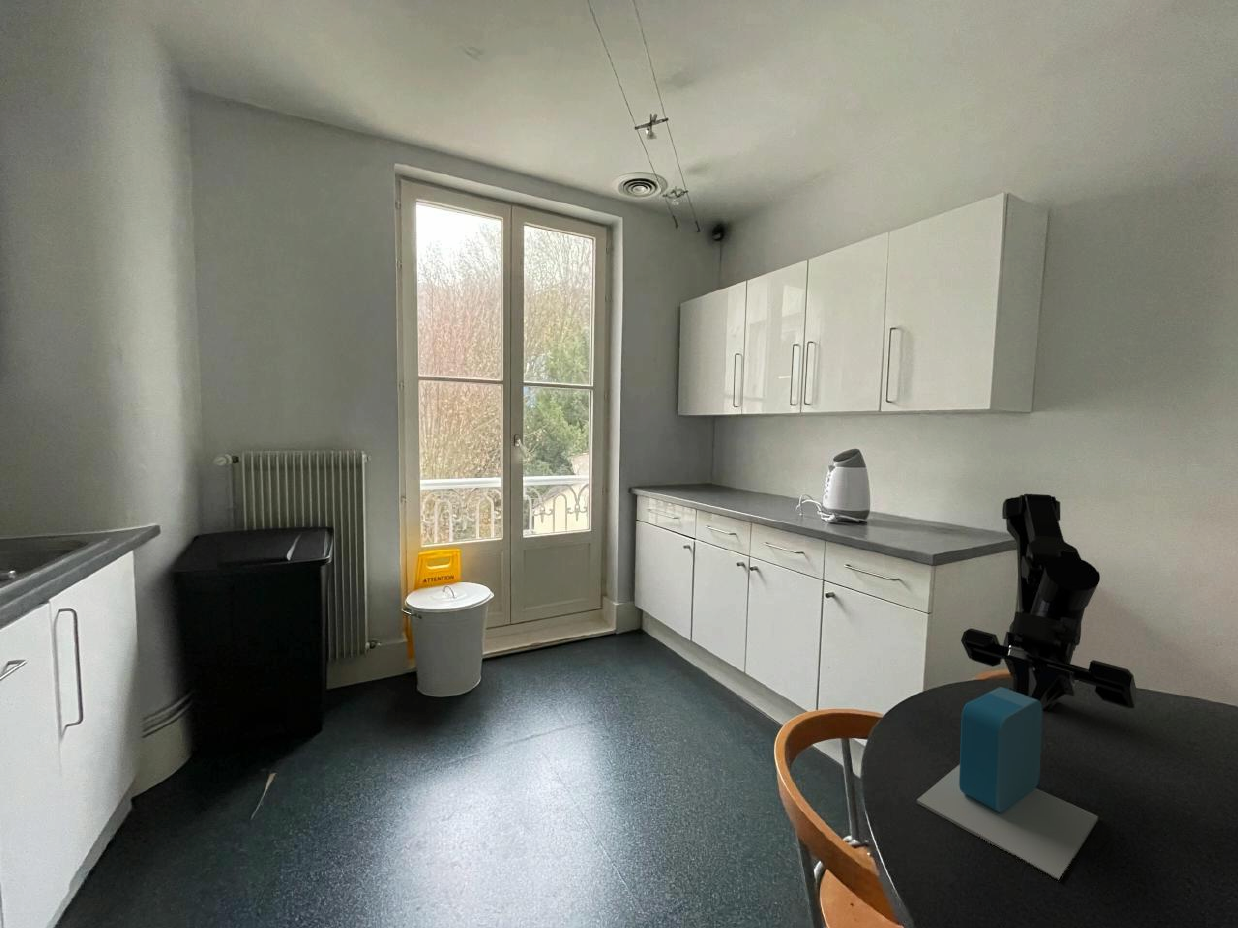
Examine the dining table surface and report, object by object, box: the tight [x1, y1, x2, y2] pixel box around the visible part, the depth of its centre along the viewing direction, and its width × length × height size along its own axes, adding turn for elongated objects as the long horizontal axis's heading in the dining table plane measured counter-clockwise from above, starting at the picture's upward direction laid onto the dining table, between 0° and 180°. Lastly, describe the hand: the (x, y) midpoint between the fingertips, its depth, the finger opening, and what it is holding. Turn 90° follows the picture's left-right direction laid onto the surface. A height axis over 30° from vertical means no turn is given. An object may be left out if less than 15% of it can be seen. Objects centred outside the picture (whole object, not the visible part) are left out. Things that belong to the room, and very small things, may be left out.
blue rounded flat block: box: [959, 686, 1043, 813], centre depth 65 cm, size 12×4×12 cm, turn 121°
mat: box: [916, 763, 1099, 880], centre depth 62 cm, size 16×14×1 cm
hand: (1026, 717), depth 68 cm, fingers closed
